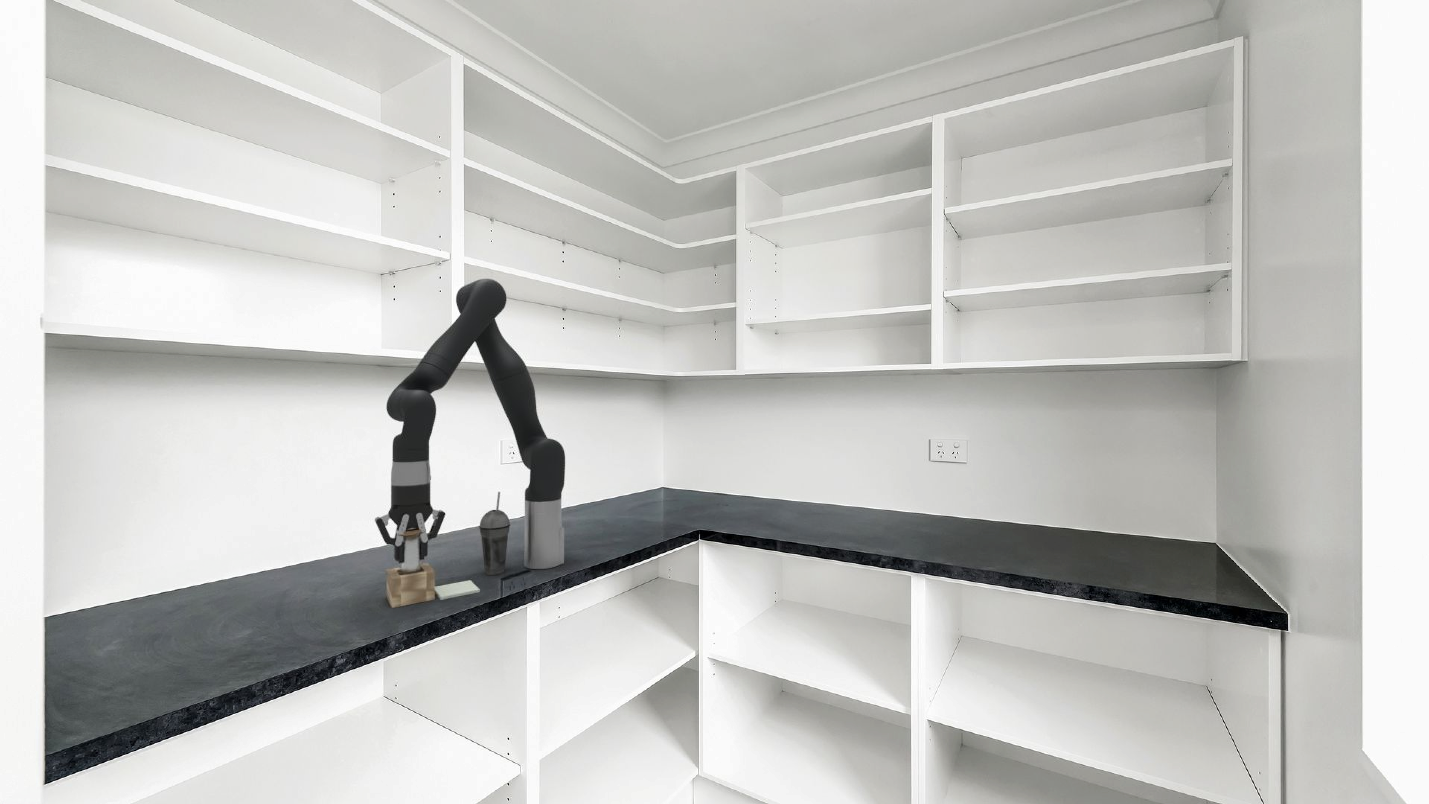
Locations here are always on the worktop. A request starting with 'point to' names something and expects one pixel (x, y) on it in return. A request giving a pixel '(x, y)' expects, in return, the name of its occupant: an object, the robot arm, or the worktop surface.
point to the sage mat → (456, 589)
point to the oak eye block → (410, 586)
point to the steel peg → (411, 551)
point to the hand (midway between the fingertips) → (410, 560)
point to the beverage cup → (494, 540)
